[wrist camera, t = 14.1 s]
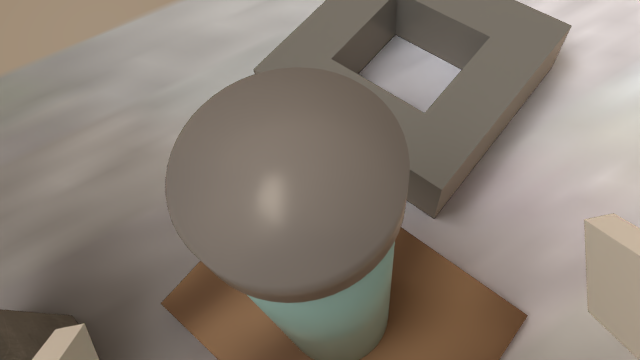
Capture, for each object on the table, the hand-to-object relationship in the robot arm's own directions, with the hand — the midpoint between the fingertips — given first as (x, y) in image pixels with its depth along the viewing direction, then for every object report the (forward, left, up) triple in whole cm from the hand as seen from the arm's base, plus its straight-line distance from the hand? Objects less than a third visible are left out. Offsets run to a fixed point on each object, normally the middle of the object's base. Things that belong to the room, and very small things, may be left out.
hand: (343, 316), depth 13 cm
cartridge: (-3, +2, -14) cm, 14 cm away
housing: (-9, +17, -15) cm, 24 cm away
